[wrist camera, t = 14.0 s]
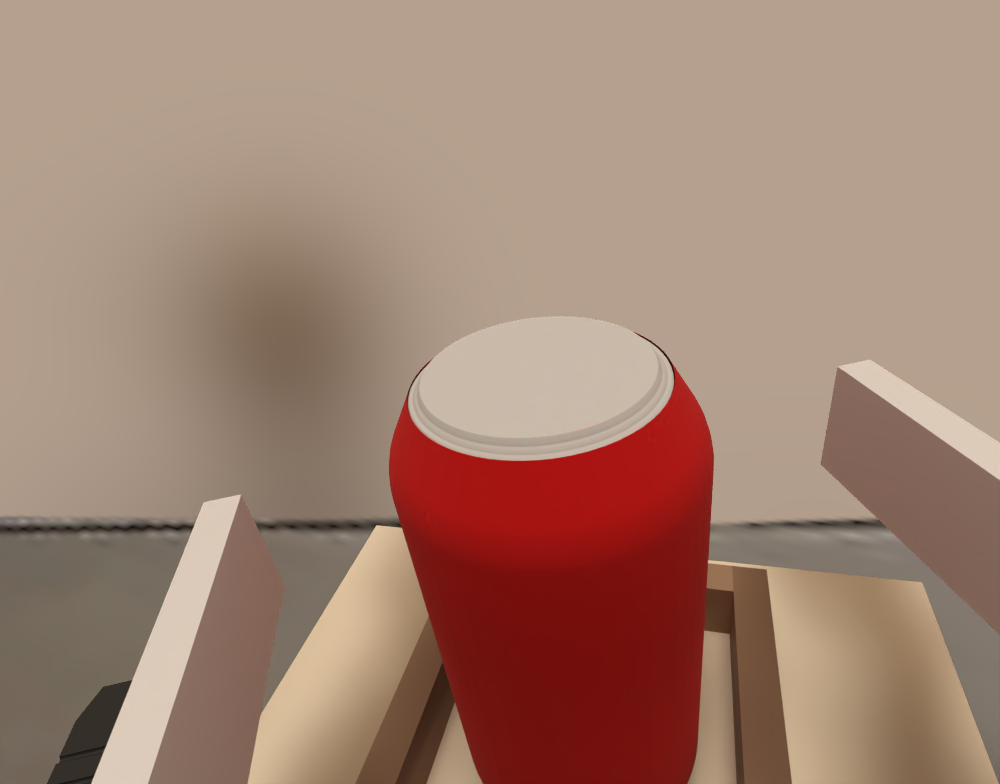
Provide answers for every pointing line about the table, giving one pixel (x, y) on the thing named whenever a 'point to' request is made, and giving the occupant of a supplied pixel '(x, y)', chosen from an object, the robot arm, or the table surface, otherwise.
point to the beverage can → (561, 547)
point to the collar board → (723, 701)
